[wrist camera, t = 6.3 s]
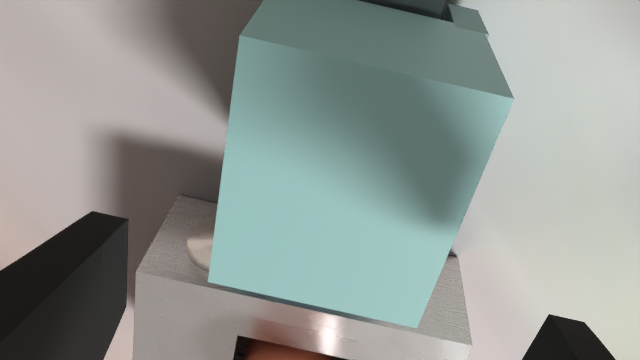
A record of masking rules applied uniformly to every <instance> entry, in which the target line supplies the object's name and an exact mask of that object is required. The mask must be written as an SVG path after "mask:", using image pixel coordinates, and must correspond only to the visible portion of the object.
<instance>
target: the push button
mask: <svg viewBox="0 0 640 360" xmlns="http://www.w3.org/2000/svg"><path fill="white" fill-rule="evenodd" d="M244 360H335V356H330V355H326V354H321V353H317V352H312V351H308V350H303V349H298V348H294V347H289V346H285V345H280V344H276V343H271V342H266V341H262V340H257V339H253V338H250V339H249V342H248V346H247V350H246V353H245V357H244Z"/></svg>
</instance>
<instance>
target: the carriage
mask: <svg viewBox="0 0 640 360" xmlns="http://www.w3.org/2000/svg"><path fill="white" fill-rule="evenodd" d="M488 35H489V34H488V32H487V30H486V27H485V25H484V23H483V21H482V19H481V17H480V15H479V12H478V10H473V9H469V8H465V7H461V6H456V5H452V4H448V5H447V8H446V11H445V14H444V17H443V20H440V19H435V18H431V17H427V16H423V15H418V14H414V13H410V12H405V11H401V10H397V9H393V8H388V7H384V6H380V5H375V4H371V3H367V2H363V1H358V0H263V2H262V3H261V5H260V6H259V8H258V9H257V11H256V12H255V13H254V15H253V16H252V18H251V19H250V21H249V22H248V24H247V25H246V26H245V28H244V29H243V31H242V32H241V34H240V35H239V43H238V50H237V58H236V66H235V74H234V82H233V89H232V97H231V105H230V113H229V121H228V128H227V136H226V144H225V152H224V159H223V167H222V175H221V183H220V191H219V198H218V206H217V214H216V222H215V230H214V237H213V245H212V253H211V261H210V268H209V276H208V282H210V283H214V284H219V285H223V286H228V287H232V288H237V289H241V290H246V291H250V292H255V293H259V294H264V295H269V296H273V297H278V298H282V299H287V300H291V301H296V302H300V303H305V304H309V305H314V306H318V307H323V308H327V309H332V310H336V311H341V312H345V313H350V314H354V315H359V316H364V317H368V318H373V319H377V320H382V321H386V322H391V323H395V324H400V325H404V326H409V327H413V328H417V327H418V325H419V322H420V320H421V317H422V315H423V313H424V310H425V308H426V306H427V303H428V301H429V299H430V296H431V294H432V291H433V289H434V287H435V284H436V282H437V280H438V277H439V275H440V273H441V270H442V268H443V265H444V263H445V261H446V258H447V256H448V254H449V251H450V249H451V247H452V244H453V242H454V240H455V237H456V235H457V232H458V230H459V228H460V225H461V223H462V221H463V218H464V216H465V214H466V211H467V209H468V206H469V204H470V202H471V199H472V197H473V195H474V192H475V190H476V188H477V185H478V183H479V180H480V178H481V176H482V173H483V171H484V169H485V166H486V164H487V162H488V159H489V157H490V154H491V152H492V150H493V147H494V145H495V143H496V140H497V138H498V136H499V133H500V131H501V128H502V126H503V124H504V121H505V119H506V117H507V114H508V112H509V110H510V107H511V105H512V102H513V100H514V98H513V95H512V93H511V91H510V89H509V86H508V84H507V82H506V80H505V78H504V75H503V73H502V71H501V69H500V66H499V64H498V62H497V60H496V58H495V55H494V53H493V51H492V49H491V47H490V44H489V42H488V40H487V38H488Z"/></svg>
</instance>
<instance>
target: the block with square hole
mask: <svg viewBox="0 0 640 360" xmlns="http://www.w3.org/2000/svg"><path fill="white" fill-rule="evenodd" d="M217 206H218V204H216V203H212V202H207V201H203V200H198V199H194V198H189V197H185V196H181V195H178V197H177V199H176V200H175V202H174V204H173V206H172V208H171V209H170V211H169V213H168V215H167V217H166V218H165V220H164V222H163V224H162V225H161V227H160V229H159V231H158V233H157V234H156V236H155V238H154V240H153V242H152V243H151V245H150V247H149V249H148V251H147V252H146V254H145V256H144V258H143V260H142V261H141V263H140V265H139V267H138V268H137V270H136V281H135V309H134V337H133V360H244V357H245V353H246V350H247V346H248V342H249V339H250V338H253V339H257V340H262V341H266V342H271V343H276V344H280V345H285V346H289V347H294V348H298V349H303V350H308V351H312V352H317V353H321V354H326V355H330V356H335V360H465V359H466V357H467V355H468V353H469V351H470V349H471V347H472V341H471V335H470V328H469V322H468V316H467V310H466V303H465V297H464V291H463V285H462V278H461V272H460V266H459V259H458V258H457V257H453V256H447V258H446V261H445V263H444V265H443V268H442V270H441V273H440V275H439V277H438V280H437V282H436V284H435V287H434V289H433V291H432V294H431V296H430V299H429V301H428V303H427V306H426V308H425V310H424V313H423V315H422V317H421V320H420V322H419V325H418V327H417V328H413V327H409V326H404V325H400V324H395V323H391V322H386V321H382V320H377V319H373V318H368V317H364V316H359V315H354V314H350V313H345V312H341V311H336V310H332V309H327V308H323V307H318V306H314V305H309V304H305V303H300V302H296V301H291V300H287V299H282V298H278V297H273V296H269V295H264V294H259V293H255V292H250V291H246V290H241V289H237V288H232V287H228V286H223V285H219V284H214V283H210V282H208V276H209V268H210V261H211V253H212V245H213V237H214V230H215V222H216V214H217Z"/></svg>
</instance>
